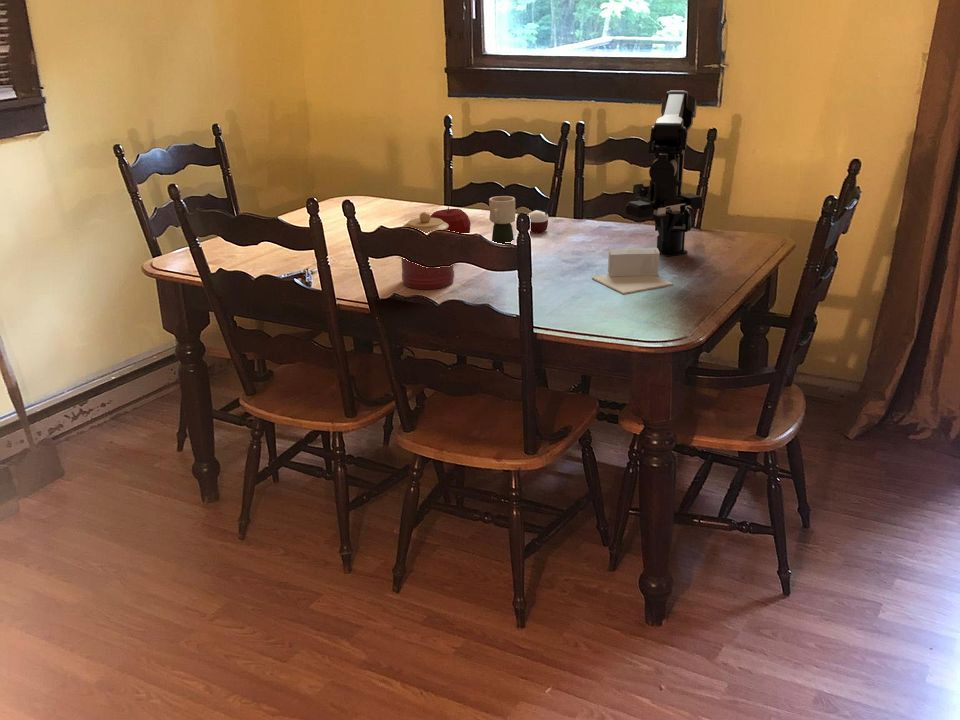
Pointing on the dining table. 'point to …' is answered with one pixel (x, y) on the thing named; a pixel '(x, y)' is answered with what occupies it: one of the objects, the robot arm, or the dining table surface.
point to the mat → (631, 283)
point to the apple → (454, 219)
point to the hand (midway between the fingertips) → (663, 240)
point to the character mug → (502, 218)
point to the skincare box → (633, 262)
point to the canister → (424, 276)
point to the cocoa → (540, 219)
